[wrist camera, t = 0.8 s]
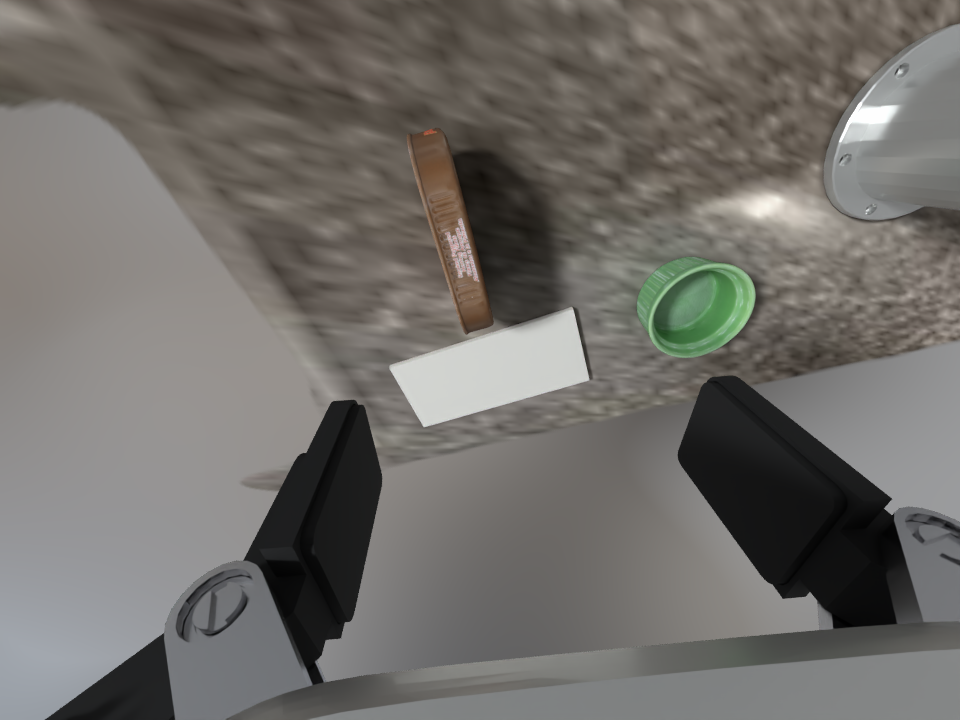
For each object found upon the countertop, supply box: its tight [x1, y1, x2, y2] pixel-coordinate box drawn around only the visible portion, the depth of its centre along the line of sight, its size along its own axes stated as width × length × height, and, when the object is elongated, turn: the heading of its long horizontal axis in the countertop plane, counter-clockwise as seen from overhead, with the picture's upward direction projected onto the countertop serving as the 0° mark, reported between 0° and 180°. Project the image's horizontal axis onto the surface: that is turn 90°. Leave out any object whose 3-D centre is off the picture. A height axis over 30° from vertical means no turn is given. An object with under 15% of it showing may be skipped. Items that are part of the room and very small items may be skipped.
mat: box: [389, 307, 589, 427], centre depth 38 cm, size 20×9×1 cm, turn 109°
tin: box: [407, 128, 494, 334], centre depth 27 cm, size 15×3×8 cm, turn 14°
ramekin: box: [637, 257, 755, 358], centre depth 32 cm, size 9×9×4 cm
